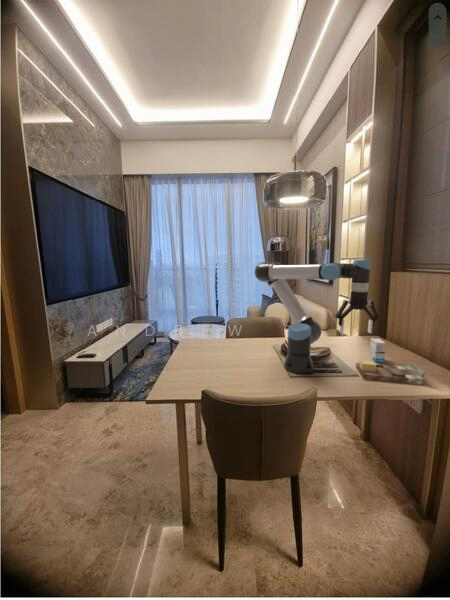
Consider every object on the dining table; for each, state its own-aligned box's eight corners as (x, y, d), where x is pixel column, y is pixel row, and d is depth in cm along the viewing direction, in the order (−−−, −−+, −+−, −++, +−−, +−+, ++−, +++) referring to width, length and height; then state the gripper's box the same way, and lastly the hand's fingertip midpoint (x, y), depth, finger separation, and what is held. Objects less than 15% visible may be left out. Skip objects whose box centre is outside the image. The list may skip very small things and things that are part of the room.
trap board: (363, 379, 119) (364, 367, 118) (355, 367, 133) (356, 356, 132) (423, 384, 113) (424, 372, 112) (409, 371, 126) (410, 360, 126)
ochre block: (362, 370, 123) (362, 363, 123) (359, 366, 128) (359, 360, 127) (375, 371, 122) (376, 364, 121) (372, 367, 126) (372, 360, 126)
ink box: (384, 363, 137) (386, 343, 135) (374, 362, 138) (376, 342, 136) (378, 357, 145) (380, 338, 144) (369, 357, 146) (370, 338, 145)
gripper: (335, 291, 120) (332, 333, 123) (390, 292, 117) (385, 335, 120) (330, 289, 127) (327, 329, 131) (382, 290, 124) (377, 330, 128)
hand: (355, 332), depth 126 cm, fingers open, 13 cm apart
